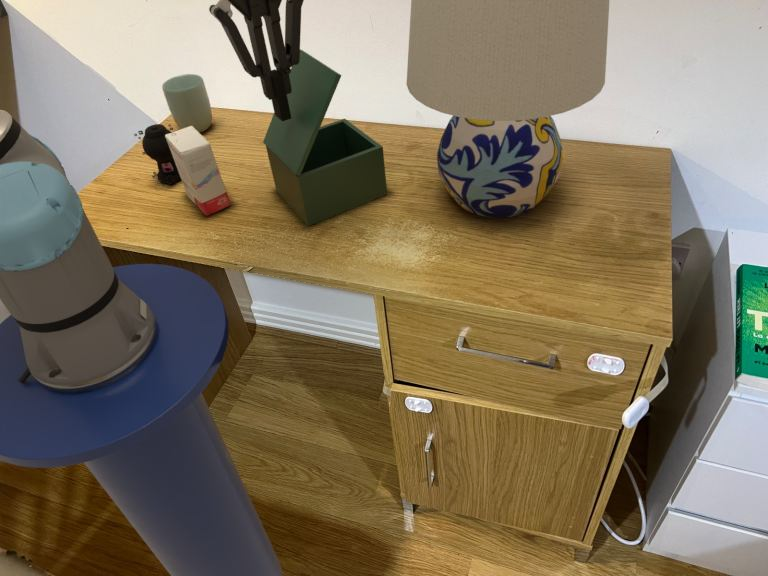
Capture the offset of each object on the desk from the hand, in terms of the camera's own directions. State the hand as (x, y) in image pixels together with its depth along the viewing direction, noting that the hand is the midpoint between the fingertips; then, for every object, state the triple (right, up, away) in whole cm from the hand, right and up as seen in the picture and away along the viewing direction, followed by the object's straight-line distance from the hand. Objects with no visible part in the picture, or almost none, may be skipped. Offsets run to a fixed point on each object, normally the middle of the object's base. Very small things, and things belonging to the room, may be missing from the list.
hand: (283, 116), depth 87 cm
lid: (+3, +1, +1) cm, 3 cm away
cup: (-24, +7, +34) cm, 42 cm away
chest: (+6, -9, +12) cm, 17 cm away
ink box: (-15, -11, +14) cm, 23 cm away
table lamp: (+33, -10, +8) cm, 36 cm away
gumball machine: (-24, -5, +20) cm, 32 cm away
